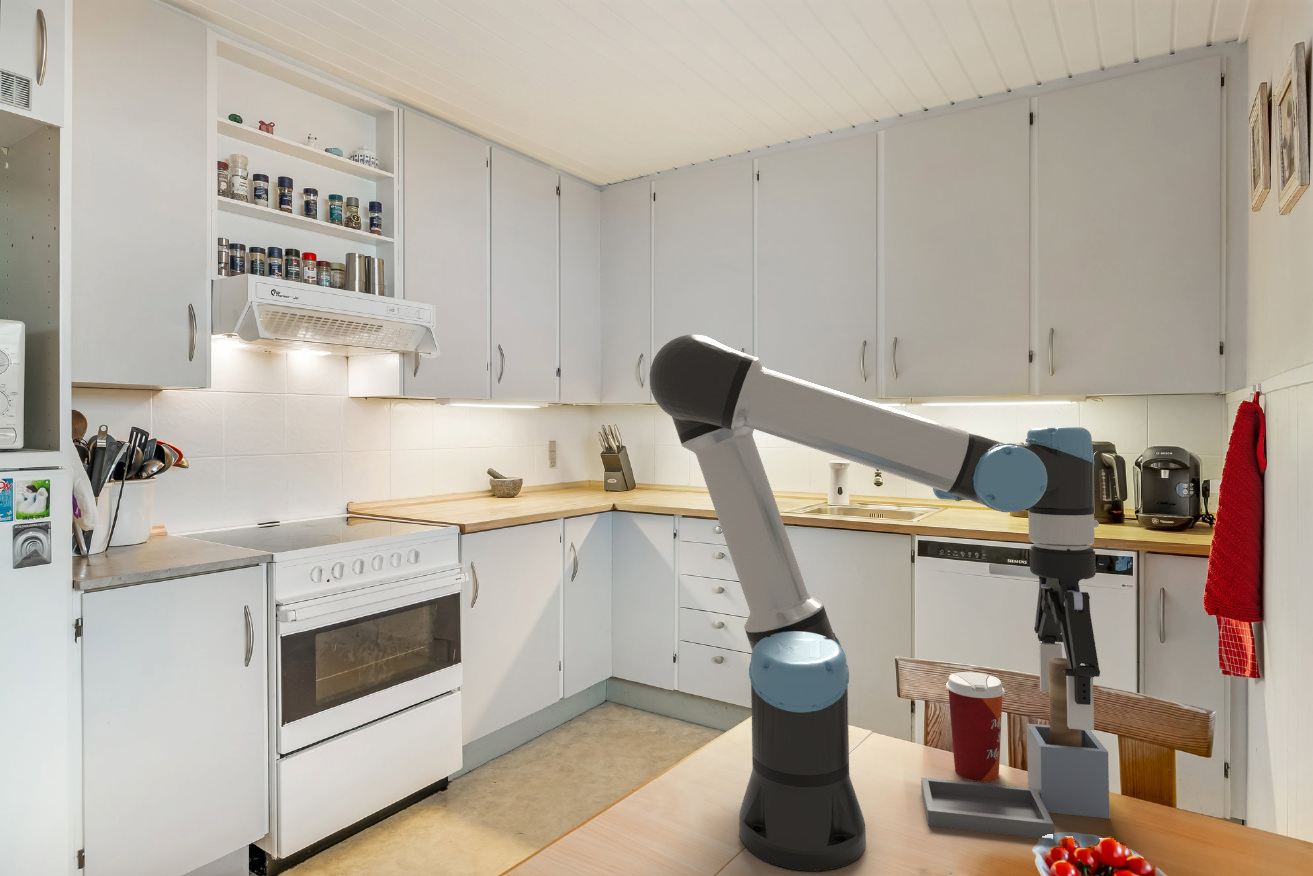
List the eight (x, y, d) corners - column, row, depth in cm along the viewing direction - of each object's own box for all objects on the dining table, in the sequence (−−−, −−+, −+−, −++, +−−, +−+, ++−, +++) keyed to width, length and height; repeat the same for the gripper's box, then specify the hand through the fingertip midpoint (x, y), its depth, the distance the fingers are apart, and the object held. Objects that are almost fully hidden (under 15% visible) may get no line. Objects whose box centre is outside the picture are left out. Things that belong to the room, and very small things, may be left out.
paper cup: (1013, 793, 99) (1011, 689, 99) (953, 788, 100) (951, 686, 100) (998, 767, 107) (996, 671, 107) (942, 763, 108) (940, 669, 108)
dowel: (1055, 805, 94) (1052, 665, 94) (1047, 792, 97) (1045, 657, 97) (1086, 808, 93) (1083, 667, 93) (1078, 795, 96) (1075, 658, 96)
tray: (928, 831, 90) (927, 810, 90) (921, 796, 98) (921, 777, 98) (1054, 846, 86) (1053, 824, 86) (1035, 808, 95) (1035, 788, 95)
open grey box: (1042, 817, 92) (1040, 746, 92) (1028, 789, 100) (1026, 723, 100) (1109, 824, 90) (1108, 752, 90) (1090, 795, 98) (1089, 728, 98)
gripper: (1129, 562, 82) (1133, 750, 82) (1066, 533, 106) (1069, 679, 106) (1055, 560, 84) (1059, 744, 84) (1010, 532, 108) (1013, 675, 108)
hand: (1064, 708), depth 95 cm, fingers open, 13 cm apart
